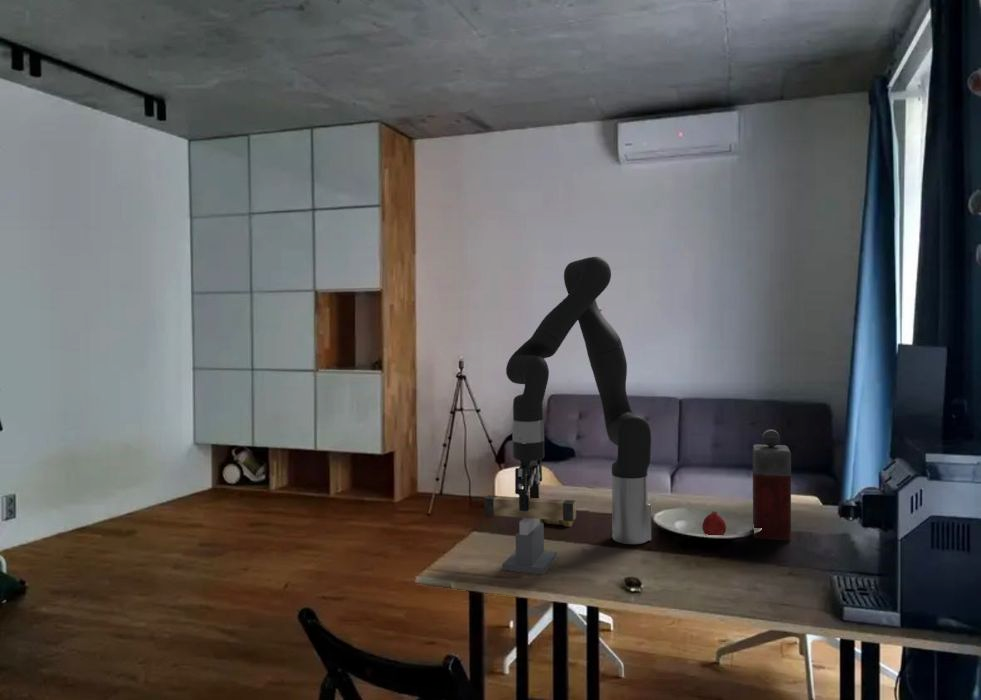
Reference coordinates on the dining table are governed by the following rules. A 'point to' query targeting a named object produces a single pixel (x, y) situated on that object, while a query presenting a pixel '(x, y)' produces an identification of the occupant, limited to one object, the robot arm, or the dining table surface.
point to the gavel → (557, 522)
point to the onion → (714, 524)
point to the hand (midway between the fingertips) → (529, 505)
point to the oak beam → (530, 508)
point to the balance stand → (530, 549)
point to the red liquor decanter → (772, 488)
